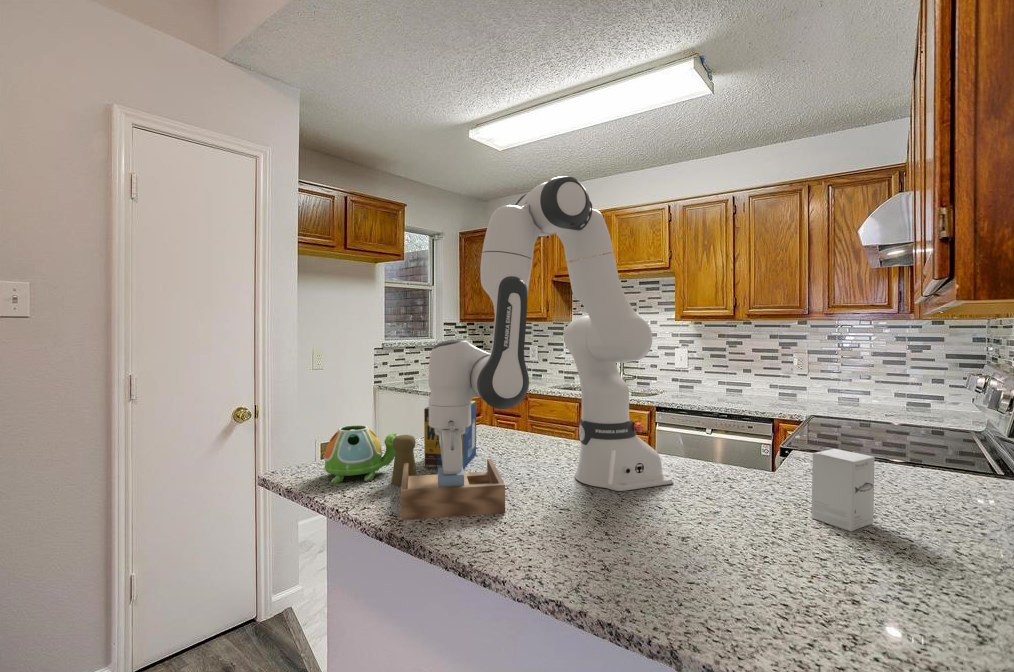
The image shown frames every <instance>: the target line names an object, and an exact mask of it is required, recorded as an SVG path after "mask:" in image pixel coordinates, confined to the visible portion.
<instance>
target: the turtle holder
mask: <svg viewBox="0 0 1014 672" xmlns="http://www.w3.org/2000/svg"><path fill="white" fill-rule="evenodd" d="M397 436H399V435H398V434H397V433H391V434H388V435H387V436H386V437H385V439H384V443H383V444H384V445H385V451H384V452H385V453H384V454H383V451H382V450H383V449H382V446H381V442H380V439H379V438H378V437H377V435H376V434H375V433H374V432H373V431H372V430H371V429H370V428H369V426H368V425H366V424H365V425H364V424H356V425H355V424H353V425H344V426H341V427H339V428H338V429H337V431H336V432H335V433H334V435H332V437H331V438H330V439H329V441H328V443H327V445H326V448H325V454H324V458H323V459H324V463H325V465H324V469H325V472H326V473H327V474H330V475H335V477H333V478H332V479H331V481H330V483H331V484H339V483H342V482H343V481H344V479H345V476H358V475H359V476H360V475H365V476H364V477H363V481H364V482H369V480H370V481H373V480H374V478H375V476H376V472H377V471H379V470H380V469H381V468H383V467H385V466H388V465H390V464H391V463H392V462H394V459H395V449H394V447H393V440H394V439H395V437H397Z"/></svg>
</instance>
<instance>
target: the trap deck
mask: <svg viewBox="0 0 1014 672" xmlns="http://www.w3.org/2000/svg"><path fill="white" fill-rule="evenodd" d="M486 464H487V465H486V471H478V472H477V471H476V472H464V486H451V487H438V473H437V474H422V475H417V476H409V463H404V467H403V476H402V484H401V487H400V521H408V520H409V521H410V520H421V519H423V520H424V519H435V518H436V519H437V518H449V517H450V518H451V517H463V516H464V517H465V516H479V515H491V514H506V484H505V482H504V480H503V478H502V476H501V475H500V472H499V471H498V469H497V467H496V465H495V463H494V461H493V458H487V459H486Z"/></svg>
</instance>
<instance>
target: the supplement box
mask: <svg viewBox="0 0 1014 672" xmlns="http://www.w3.org/2000/svg"><path fill="white" fill-rule="evenodd" d="M875 460H876V459H875V456H873V455H867V454H864V453H863V454H862V453H858V452H853V451H848V450H842V449H838V448H831V449H826V450H821V451H817V452H813V453H812V466H811V467H812V469H811V470H812V471H811V474H812V475H811V479H812V480H811V519H814V520H817V521H820V522H822V523H825V524H828V525H830V526H833V527H836V528H839V529H842V530H845V531H848V532H854V531H856V530H858V529H861V528H864V527H867V526H870V525H874V506H875V505H874V503H875Z"/></svg>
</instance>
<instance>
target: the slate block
mask: <svg viewBox="0 0 1014 672" xmlns="http://www.w3.org/2000/svg"><path fill="white" fill-rule="evenodd" d="M464 473H465V472H464V469H463V467H462V471H461V473H458V474H444V473H443V468H438V469H437V474H438V487H451V486H464Z"/></svg>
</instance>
